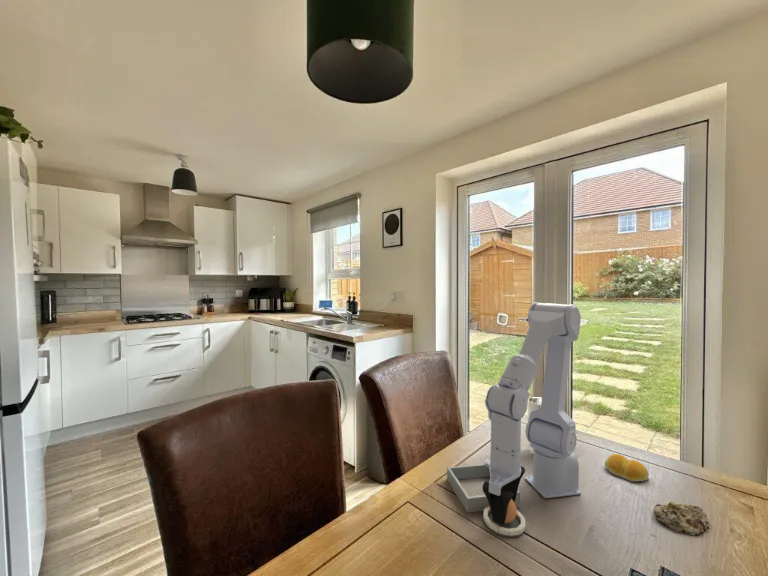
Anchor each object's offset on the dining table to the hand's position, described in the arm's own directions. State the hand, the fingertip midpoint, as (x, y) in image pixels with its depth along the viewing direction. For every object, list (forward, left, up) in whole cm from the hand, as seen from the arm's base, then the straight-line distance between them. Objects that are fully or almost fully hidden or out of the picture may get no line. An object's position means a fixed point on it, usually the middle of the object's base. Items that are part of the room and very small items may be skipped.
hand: (504, 511), depth 70 cm
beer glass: (-25, -24, -3) cm, 35 cm away
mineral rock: (-37, +6, -3) cm, 37 cm away
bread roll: (-41, -12, -3) cm, 42 cm away
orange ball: (0, 0, 0) cm, 1 cm away
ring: (0, 0, -2) cm, 2 cm away
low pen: (0, -10, -2) cm, 10 cm away
